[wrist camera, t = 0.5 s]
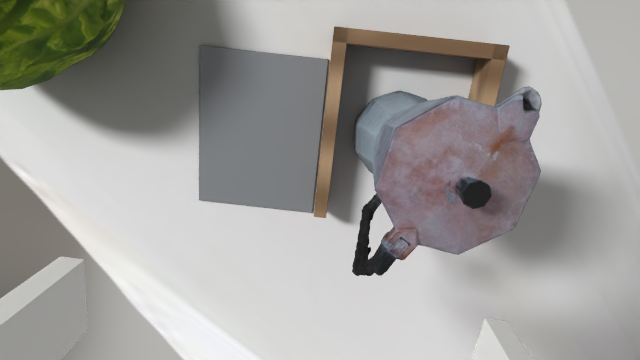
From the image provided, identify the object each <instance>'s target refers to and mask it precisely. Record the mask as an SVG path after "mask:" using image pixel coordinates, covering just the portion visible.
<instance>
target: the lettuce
mask: <svg viewBox="0 0 640 360" xmlns="http://www.w3.org/2000/svg"><path fill="white" fill-rule="evenodd" d="M124 6H125V0H0V90H10V89H23V88H26V87H29V86H32V85H35V84H38V83H41V82H43V81H46V80H49V79H51V78H52V77H54V76H55V75H57V74H59V73H60V72H62V71H63V70H65V69H66V68H68V67H69V66H71V65H73V64H75V63H77V62H79V61H81V60H83V59H85V58H86V57H88V56H90V55H92V54H94V53H95V52H96V51H97V50H98V49H99V48H100V47H101V46H103V45H104V44H105V43H106V42H107V41H108V39H109V37H110V36H111V34H112V33H113V31H114V29H115V28H116V26H117V24H118V22H119V19H120V16H121V14H122V11H123V8H124Z"/></svg>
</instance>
